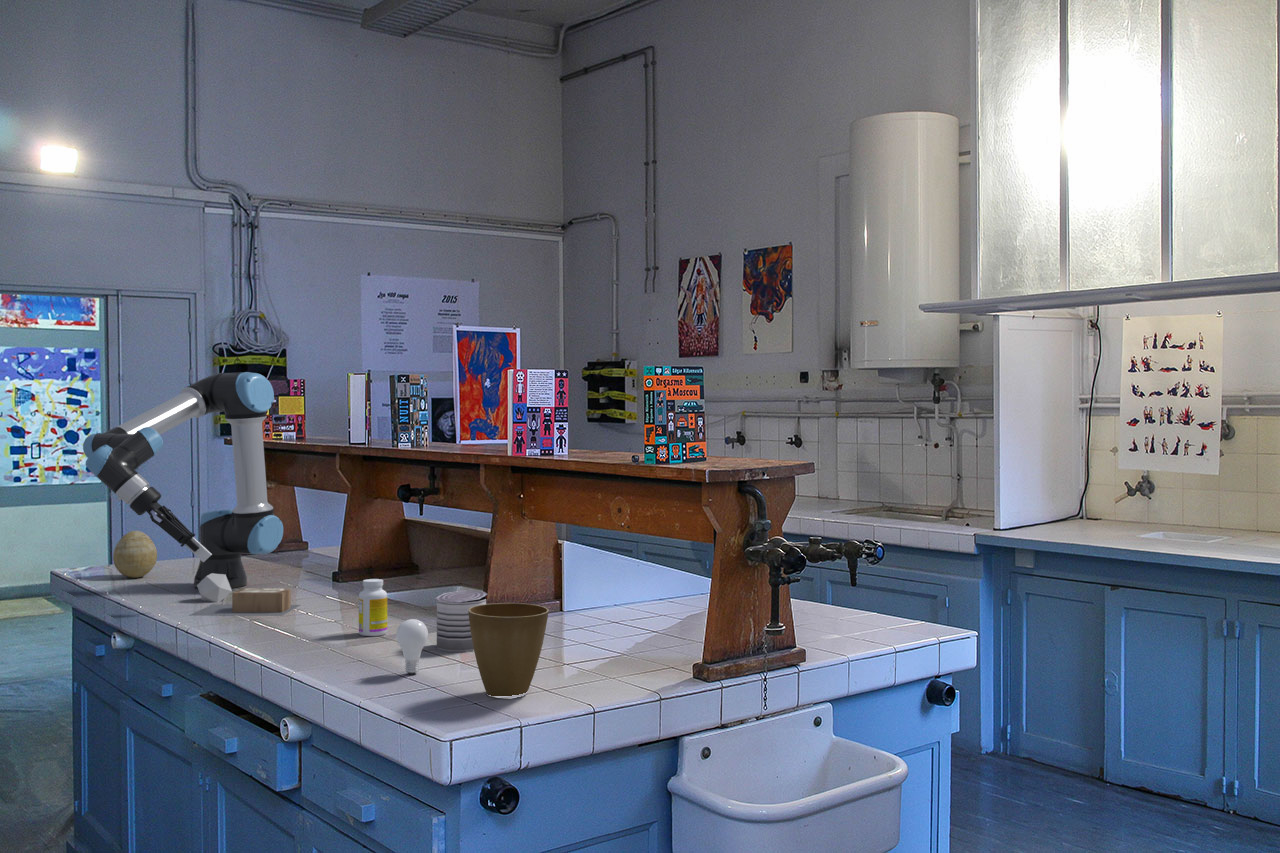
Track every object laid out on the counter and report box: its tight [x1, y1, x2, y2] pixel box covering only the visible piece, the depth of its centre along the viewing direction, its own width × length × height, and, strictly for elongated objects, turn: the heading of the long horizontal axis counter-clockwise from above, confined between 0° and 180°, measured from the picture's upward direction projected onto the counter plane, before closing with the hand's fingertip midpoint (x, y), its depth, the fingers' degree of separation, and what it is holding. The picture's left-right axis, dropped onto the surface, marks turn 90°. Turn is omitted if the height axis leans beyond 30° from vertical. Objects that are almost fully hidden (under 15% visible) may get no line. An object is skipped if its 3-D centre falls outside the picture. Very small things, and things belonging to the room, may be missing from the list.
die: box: [197, 573, 233, 603], centre depth 300 cm, size 8×9×10 cm
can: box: [434, 589, 489, 653], centre depth 243 cm, size 11×11×12 cm
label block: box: [231, 588, 292, 612], centre depth 285 cm, size 7×5×13 cm
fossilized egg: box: [112, 530, 158, 579], centre depth 344 cm, size 13×13×15 cm
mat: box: [189, 604, 301, 617], centre depth 285 cm, size 16×24×1 cm, turn 91°
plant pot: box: [468, 602, 550, 696], centre depth 201 cm, size 15×15×16 cm
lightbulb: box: [395, 618, 429, 675], centre depth 217 cm, size 6×6×11 cm
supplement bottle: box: [358, 578, 388, 637], centre depth 257 cm, size 7×7×13 cm
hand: (207, 558), depth 284 cm, fingers closed
